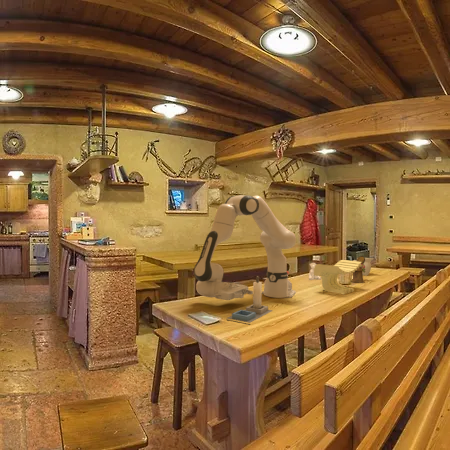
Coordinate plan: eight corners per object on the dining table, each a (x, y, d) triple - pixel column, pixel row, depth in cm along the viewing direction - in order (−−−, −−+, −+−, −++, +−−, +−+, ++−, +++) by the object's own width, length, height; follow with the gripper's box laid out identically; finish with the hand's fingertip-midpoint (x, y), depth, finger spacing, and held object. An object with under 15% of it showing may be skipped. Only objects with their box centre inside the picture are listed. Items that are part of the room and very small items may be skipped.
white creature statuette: (309, 280, 269) (309, 263, 268) (304, 278, 277) (305, 262, 277) (321, 279, 270) (321, 263, 270) (316, 277, 279) (316, 261, 278)
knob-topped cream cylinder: (255, 309, 183) (255, 274, 182) (262, 310, 181) (263, 275, 180) (251, 311, 180) (252, 276, 179) (258, 312, 178) (259, 277, 177)
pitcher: (354, 272, 306) (354, 255, 305) (376, 275, 293) (376, 258, 293) (348, 274, 298) (348, 256, 297) (370, 277, 285) (371, 259, 285)
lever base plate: (251, 308, 188) (251, 302, 188) (273, 312, 182) (273, 306, 182) (226, 320, 168) (226, 313, 168) (249, 324, 161) (249, 318, 161)
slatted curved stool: (337, 285, 251) (338, 259, 250) (360, 289, 239) (361, 261, 239) (313, 291, 230) (314, 263, 229) (337, 296, 218) (337, 266, 218)
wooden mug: (367, 281, 268) (368, 256, 268) (360, 283, 258) (361, 258, 257) (355, 279, 274) (356, 255, 274) (348, 281, 264) (349, 256, 263)
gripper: (212, 288, 181) (236, 291, 174) (234, 281, 199) (257, 284, 191) (212, 301, 182) (236, 305, 174) (234, 293, 199) (256, 296, 192)
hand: (247, 294), depth 183 cm, fingers open, 8 cm apart
